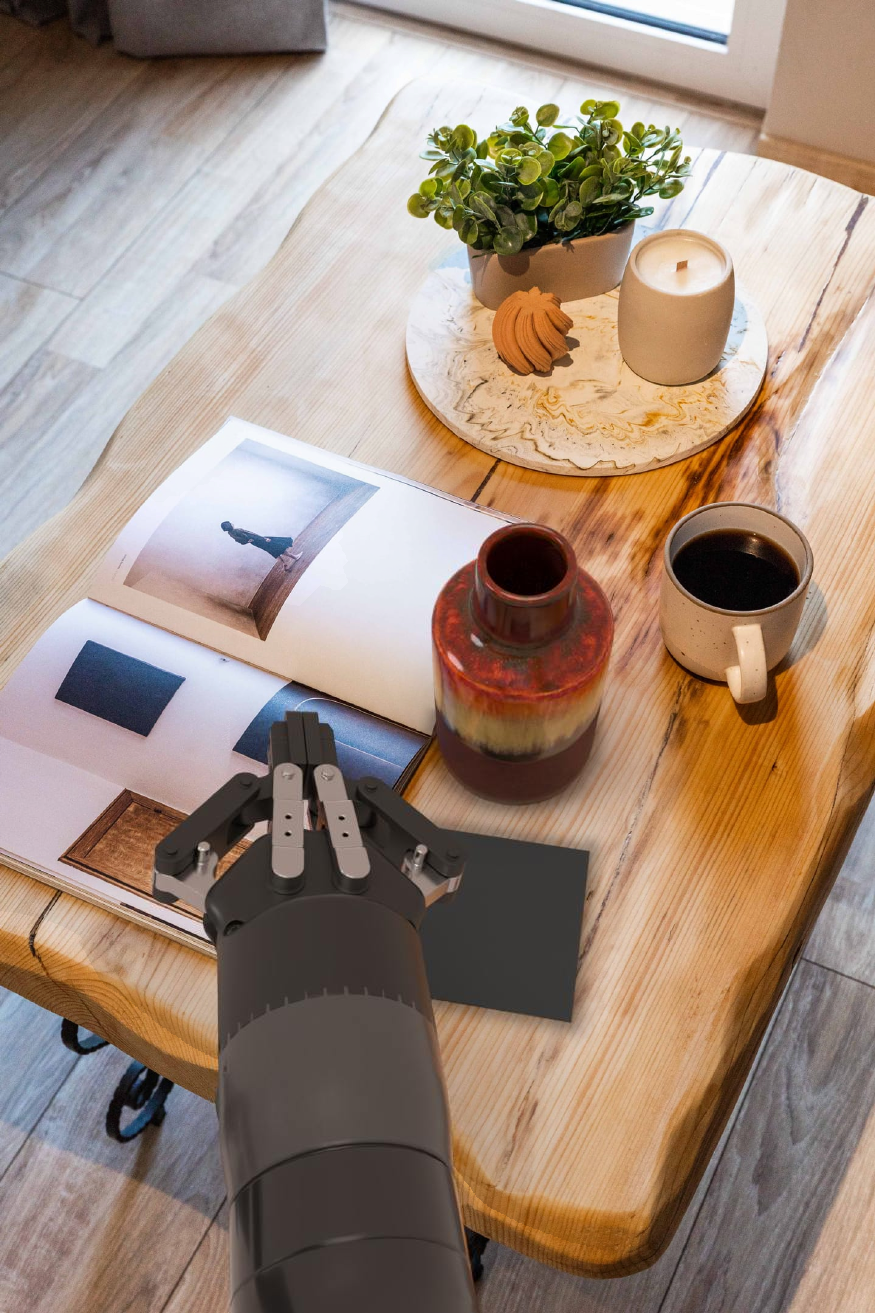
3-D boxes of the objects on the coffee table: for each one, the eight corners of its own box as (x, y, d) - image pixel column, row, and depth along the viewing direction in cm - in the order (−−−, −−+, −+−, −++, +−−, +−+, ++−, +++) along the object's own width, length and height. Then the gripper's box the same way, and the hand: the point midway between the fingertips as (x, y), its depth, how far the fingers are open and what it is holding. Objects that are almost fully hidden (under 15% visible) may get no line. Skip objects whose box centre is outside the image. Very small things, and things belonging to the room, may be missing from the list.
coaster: (376, 989, 68) (375, 988, 68) (409, 824, 74) (409, 823, 74) (570, 1022, 67) (571, 1021, 67) (589, 851, 72) (589, 851, 72)
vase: (524, 837, 73) (541, 683, 56) (404, 740, 77) (385, 568, 60) (624, 728, 77) (668, 552, 60) (505, 641, 81) (514, 452, 64)
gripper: (543, 997, 37) (454, 668, 50) (133, 1007, 34) (153, 652, 47) (492, 1117, 42) (422, 786, 55) (125, 1135, 38) (146, 779, 51)
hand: (298, 725), depth 51 cm, fingers closed
